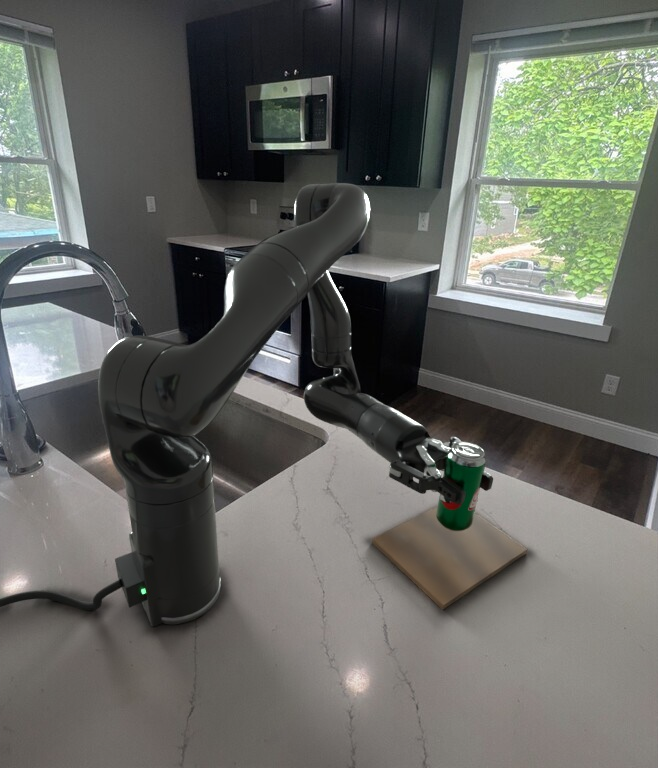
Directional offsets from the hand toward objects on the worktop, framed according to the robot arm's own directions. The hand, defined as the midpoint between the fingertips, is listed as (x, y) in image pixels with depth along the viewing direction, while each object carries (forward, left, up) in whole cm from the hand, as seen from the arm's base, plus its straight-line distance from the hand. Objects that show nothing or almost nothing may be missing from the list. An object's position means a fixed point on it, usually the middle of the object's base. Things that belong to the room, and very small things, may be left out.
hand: (476, 491), depth 62 cm
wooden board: (0, +2, -12) cm, 12 cm away
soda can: (0, +3, -7) cm, 8 cm away
